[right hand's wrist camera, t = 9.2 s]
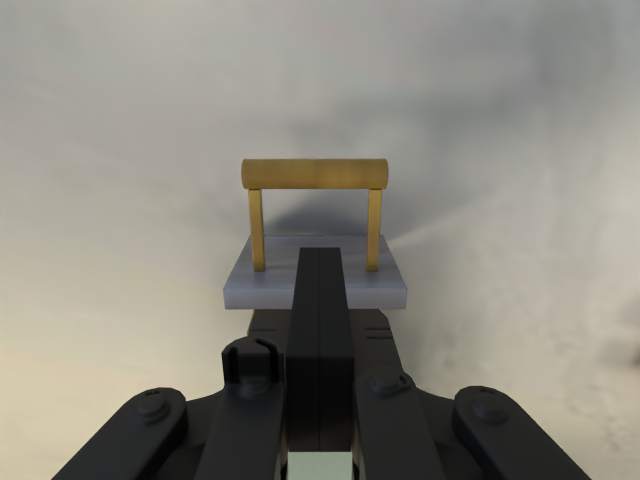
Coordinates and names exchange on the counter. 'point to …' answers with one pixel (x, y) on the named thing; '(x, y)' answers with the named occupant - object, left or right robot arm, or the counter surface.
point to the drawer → (314, 238)
